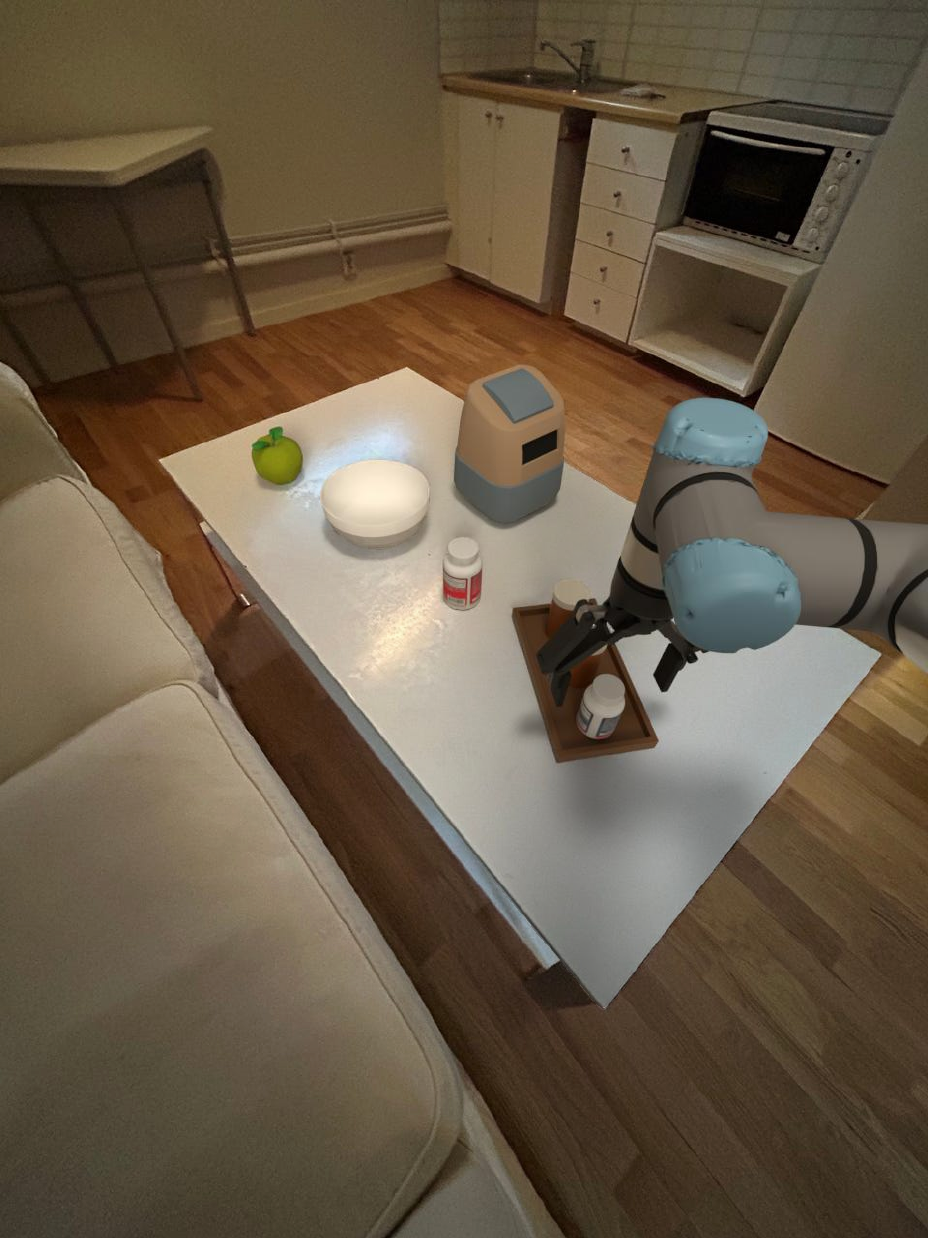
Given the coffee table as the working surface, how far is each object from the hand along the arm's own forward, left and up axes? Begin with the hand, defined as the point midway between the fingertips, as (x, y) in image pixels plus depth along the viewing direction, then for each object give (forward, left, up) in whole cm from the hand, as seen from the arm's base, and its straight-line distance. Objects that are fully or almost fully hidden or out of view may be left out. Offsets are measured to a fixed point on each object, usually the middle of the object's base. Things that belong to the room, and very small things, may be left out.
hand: (608, 690), depth 67 cm
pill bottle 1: (+26, +14, -9) cm, 31 cm away
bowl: (+45, +26, -9) cm, 53 cm away
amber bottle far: (+16, 0, -8) cm, 18 cm away
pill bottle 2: (0, 0, -8) cm, 8 cm away
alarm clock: (+51, +1, -9) cm, 52 cm away
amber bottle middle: (+8, 0, -8) cm, 12 cm away
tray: (+8, 0, -9) cm, 12 cm away
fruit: (+63, +44, -9) cm, 77 cm away
